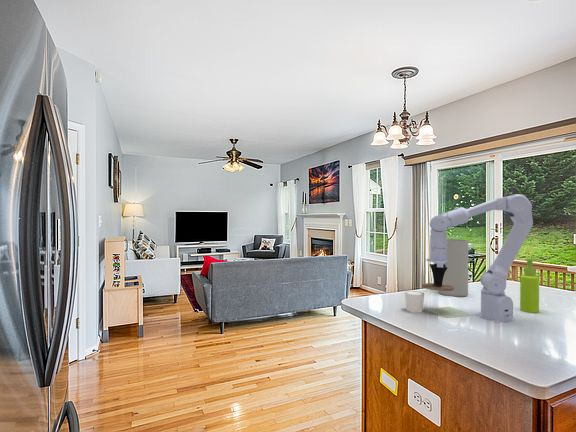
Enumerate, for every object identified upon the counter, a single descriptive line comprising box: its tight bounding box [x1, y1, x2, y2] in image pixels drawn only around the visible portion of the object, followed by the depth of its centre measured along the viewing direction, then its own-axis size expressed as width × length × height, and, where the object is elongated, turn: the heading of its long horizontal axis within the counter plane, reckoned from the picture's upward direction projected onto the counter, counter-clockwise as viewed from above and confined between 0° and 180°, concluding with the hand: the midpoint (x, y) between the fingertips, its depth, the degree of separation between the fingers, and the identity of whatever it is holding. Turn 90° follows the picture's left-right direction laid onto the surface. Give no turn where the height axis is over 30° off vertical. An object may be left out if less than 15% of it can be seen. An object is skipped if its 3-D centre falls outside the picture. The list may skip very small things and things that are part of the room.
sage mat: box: [424, 306, 474, 319], centre depth 126 cm, size 12×12×1 cm
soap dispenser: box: [519, 257, 543, 314], centre depth 129 cm, size 6×7×20 cm
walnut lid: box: [421, 280, 454, 292], centre depth 126 cm, size 11×11×3 cm
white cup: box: [404, 290, 425, 314], centre depth 127 cm, size 7×7×7 cm
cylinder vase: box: [437, 238, 469, 298], centre depth 157 cm, size 12×12×25 cm
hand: (437, 284), depth 126 cm, fingers closed on walnut lid, 3 cm apart
